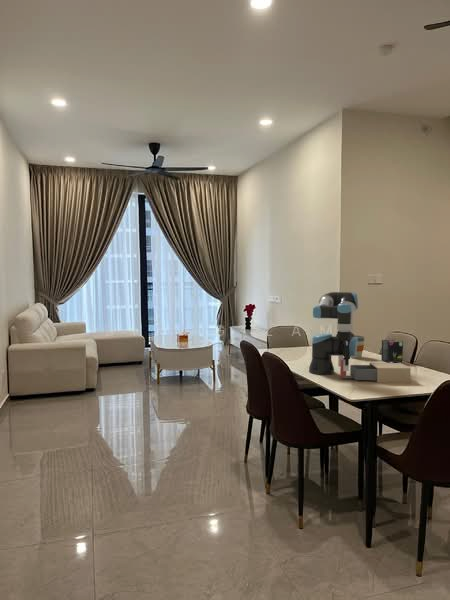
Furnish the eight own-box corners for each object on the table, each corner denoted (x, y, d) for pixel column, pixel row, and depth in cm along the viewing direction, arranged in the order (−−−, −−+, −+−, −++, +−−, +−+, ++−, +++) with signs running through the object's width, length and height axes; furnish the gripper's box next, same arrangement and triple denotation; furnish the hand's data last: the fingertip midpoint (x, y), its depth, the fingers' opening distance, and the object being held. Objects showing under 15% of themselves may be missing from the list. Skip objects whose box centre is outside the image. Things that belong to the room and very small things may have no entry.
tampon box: (389, 363, 298) (389, 341, 297) (380, 360, 307) (381, 339, 306) (403, 362, 301) (403, 341, 300) (394, 359, 310) (394, 339, 309)
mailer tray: (343, 380, 246) (343, 362, 246) (338, 375, 259) (338, 357, 258) (386, 380, 246) (387, 362, 245) (379, 375, 258) (379, 358, 258)
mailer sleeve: (377, 382, 245) (377, 368, 244) (369, 376, 260) (369, 362, 259) (410, 382, 244) (410, 368, 244) (400, 376, 259) (400, 362, 259)
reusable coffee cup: (362, 355, 326) (362, 335, 325) (365, 358, 314) (366, 337, 313) (344, 355, 328) (345, 335, 327) (347, 358, 315) (347, 337, 314)
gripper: (356, 333, 239) (355, 373, 240) (345, 328, 263) (344, 364, 264) (342, 333, 239) (341, 373, 240) (332, 328, 263) (332, 364, 264)
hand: (343, 368), depth 252 cm, fingers open, 12 cm apart
